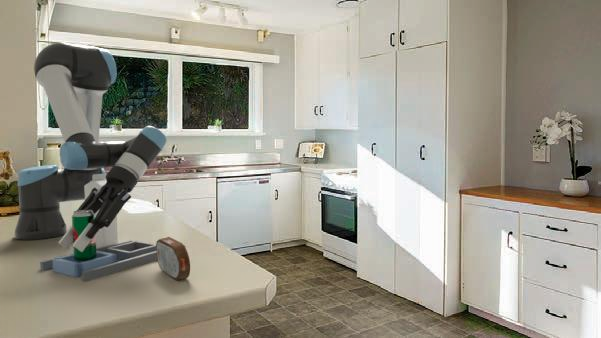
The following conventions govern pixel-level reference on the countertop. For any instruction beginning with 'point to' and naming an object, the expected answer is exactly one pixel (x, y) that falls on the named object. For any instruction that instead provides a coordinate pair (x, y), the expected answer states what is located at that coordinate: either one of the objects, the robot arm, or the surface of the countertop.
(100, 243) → the milk
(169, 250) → the tin
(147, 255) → the grey railed frame
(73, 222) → the soda can
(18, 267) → the countertop surface
